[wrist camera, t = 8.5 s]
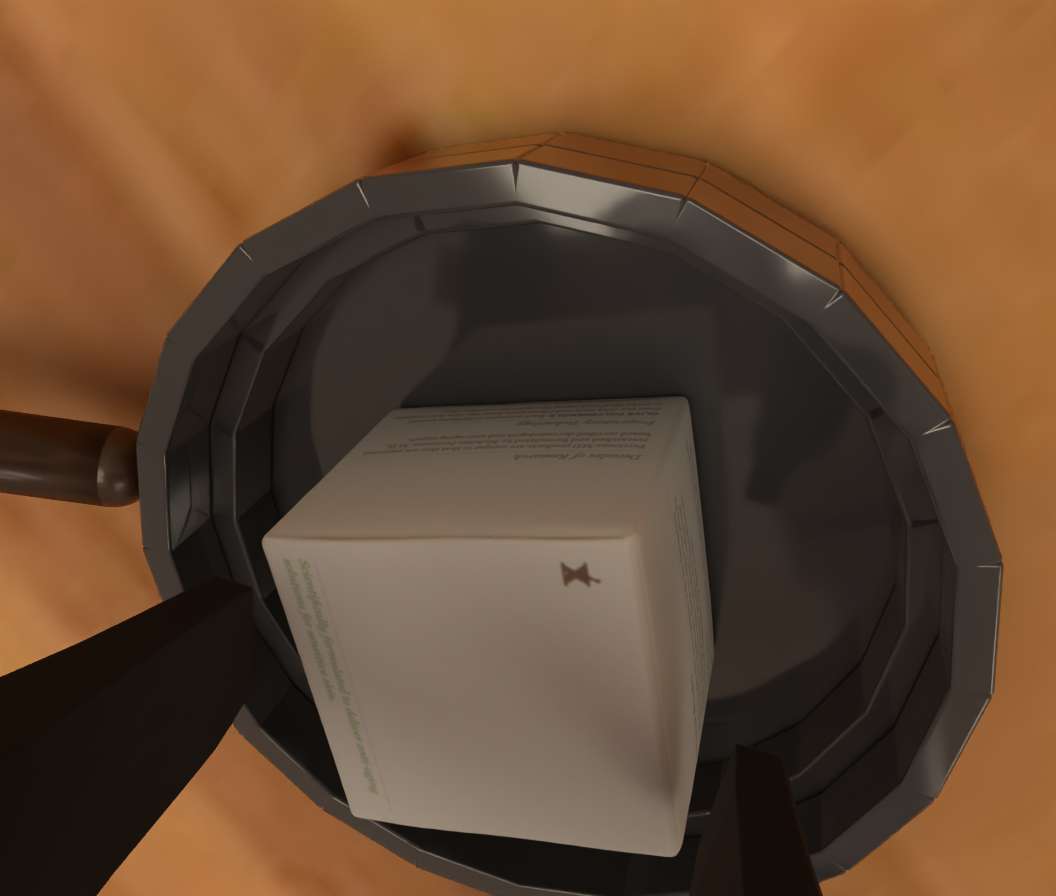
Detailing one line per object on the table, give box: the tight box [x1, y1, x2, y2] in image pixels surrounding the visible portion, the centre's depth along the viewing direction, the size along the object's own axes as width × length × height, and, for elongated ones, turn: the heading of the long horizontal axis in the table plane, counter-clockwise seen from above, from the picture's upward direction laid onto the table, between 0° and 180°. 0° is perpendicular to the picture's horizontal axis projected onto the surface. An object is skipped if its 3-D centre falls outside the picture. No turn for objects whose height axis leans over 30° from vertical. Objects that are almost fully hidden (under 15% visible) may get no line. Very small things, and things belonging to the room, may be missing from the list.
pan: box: [136, 132, 1004, 896], centre depth 16 cm, size 14×14×3 cm
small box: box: [262, 396, 714, 857], centre depth 15 cm, size 6×6×5 cm
